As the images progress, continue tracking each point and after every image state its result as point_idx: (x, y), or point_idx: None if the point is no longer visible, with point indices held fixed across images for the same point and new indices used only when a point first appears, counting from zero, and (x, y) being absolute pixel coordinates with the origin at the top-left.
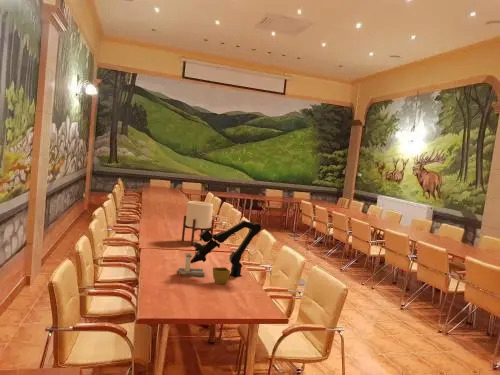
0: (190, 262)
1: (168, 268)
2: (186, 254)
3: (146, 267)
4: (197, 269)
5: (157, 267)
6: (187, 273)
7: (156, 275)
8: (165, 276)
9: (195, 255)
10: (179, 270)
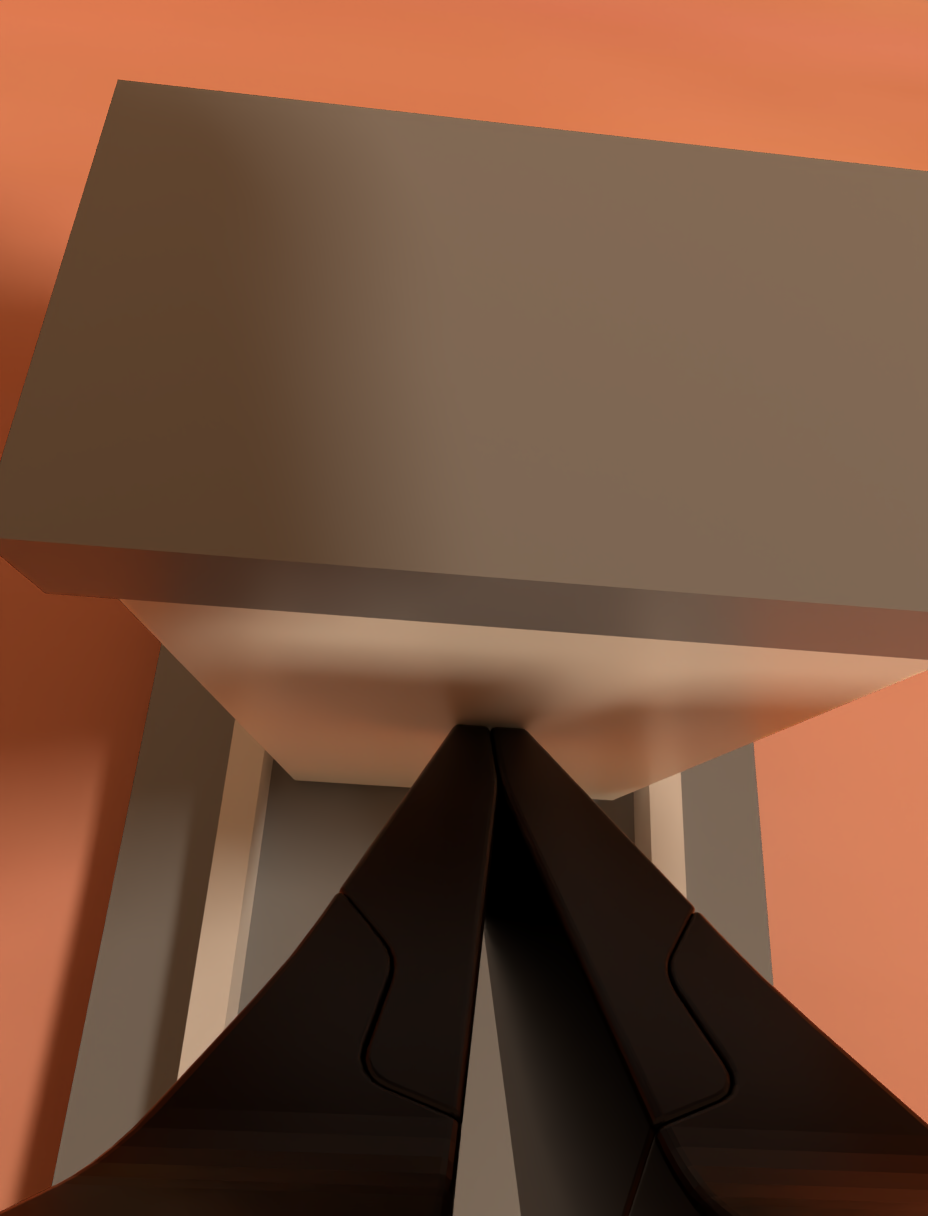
0: (217, 691)
1: None
2: (626, 178)
3: (798, 10)
4: None
5: None
6: (200, 694)
7: (264, 76)
8: None
9: (430, 1201)
10: None
